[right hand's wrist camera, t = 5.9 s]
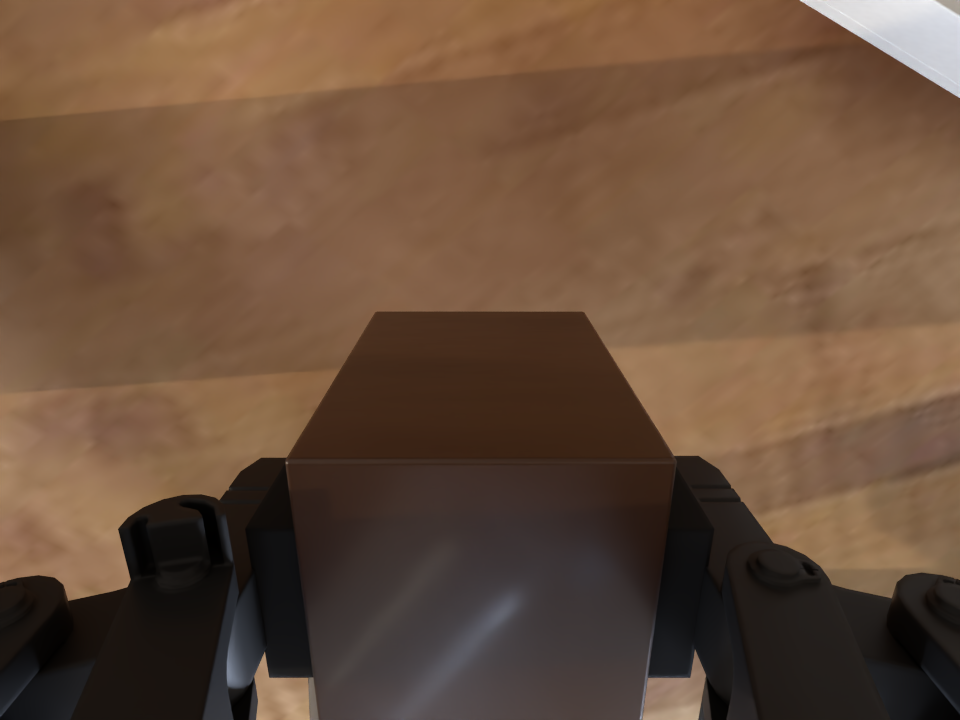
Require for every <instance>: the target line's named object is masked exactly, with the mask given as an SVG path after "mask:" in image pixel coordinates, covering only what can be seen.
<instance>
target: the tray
mask: <svg viewBox="0 0 960 720" xmlns="http://www.w3.org/2000/svg"><path fill="white" fill-rule="evenodd" d="M800 1H802V2H803V3H805V4H807V5H808V6H810V7H812V8H813V9H815V10H817V11H818V12H820V13H821V14H823V15H825V16H826V17H828V18H830V19H831V20H833V21H835V22H836V23H838V24H839V25H841V26H843V27H844V28H846V29H848V30H849V31H851V32H853V33H854V34H856V35H857V36H859V37H861V38H862V39H864V40H866V41H867V42H869V43H871V44H872V45H874V46H875V47H877V48H879V49H880V50H882V51H884V52H885V53H887V54H889V55H890V56H892V57H893V58H895V59H897V60H898V61H900V62H902V63H903V64H905V65H907V66H908V67H910V68H911V69H913V70H915V71H916V72H918V73H920V74H921V75H923V76H925V77H926V78H928V79H929V80H931V81H933V82H934V83H936V84H938V85H939V86H941V87H943V88H944V89H946V90H947V91H949V92H951V93H952V94H954V95H956V96H957V97H959V98H960V0H800Z"/></svg>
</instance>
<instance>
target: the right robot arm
mask: <svg viewBox="0 0 960 720" xmlns="http://www.w3.org/2000/svg"><path fill="white" fill-rule="evenodd" d="M674 457H675V458H676V461H677V464H676V471H675V478H674V486H673V493H672V501H671V508H670V516H669V523H668V531H667V538H666V545H665V553H664V560H663V568H662V575H661V583H660V590H659V598H658V605H657V613H656V620H655V627H654V635H653V642H652V650H651V657H650V665H649V672H648V678H690V676H691V670H692V664H693V658H694V651H695V650H696V652H697V654H698V657H699V659H700V661H701V664H702V666H703V668H704V671H705V673H706V679H705V685H704V691H703V696H702V702H701V708H700V714H699V719H698V720H960V580H958V579H954V578H951V577H947V576H943V575H936V574H928V573H917V574H910V575H905V576H904V577H903V578H902V579H900V580H899V581H898V582H897V584H896V587H895V590H894V594H893V597H892V598H887V597H882V596H878V595H873V594H868V593H863V592H859V591H854V590H849V589H845V588H842V587H838V586H834V585H832V584H831V582H830V580H829V578H828V577H827V575H826V574H825V573H824V571H823V570H822V568H821V567H820V566H819V565H817V564H816V563H815V562H813V561H812V560H811V559H809V558H808V557H807V556H805V555H804V554H801V553H799V552H797V551H795V550H793V549H791V548H788V547H786V546H782V545H778V544H774V543H773V542H772V540H771V539H770V538H769V536H768V535H767V534H766V532H765V531H764V530H763V528H762V527H761V526H760V524H759V523H758V522H757V520H756V519H755V518H754V516H753V515H752V513H751V512H750V511H749V509H748V508H747V507H746V505H745V504H744V503H743V502H741V500H740V497H739V496H738V495H737V493H736V492H735V490H734V489H731V485H730V484H729V482H728V481H727V480H726V478H725V477H724V476H723V474H722V473H721V472H720V470H719V469H717V468H716V467H714V466H713V465H711V464H710V463H708V462H707V461H705V460H704V459H702V458H701V457H699V456H674ZM286 459H287V458H260V459H259V460H257V461H256V462H254V463H253V464H251V465H250V466H248V467H247V468H245V469H244V470H242V471H241V472H240V473H239V475H238V476H237V477H236V479H235V480H234V481H233V483H232V484H231V485H230V487H229V491H226V492H225V494H224V495H223V496H222V498H221V499H220V500H218V499H216V498H214V497H210V496H205V495H181V496H177V497H172V498H167V499H163V500H161V501H158V502H156V503H153V504H151V505H148V506H146V507H143V508H142V509H140V510H139V511H137V512H136V513H134V514H133V515H131V516H130V517H128V518H127V519H126V521H125V522H124V523H123V524H122V525H121V526H120V528H119V529H118V530H119V534H120V538H121V542H122V546H123V550H124V554H125V558H126V562H127V566H128V570H129V574H130V578H131V581H130V583H129V585H128V587H127V588H124V589H120V590H117V591H113V592H108V593H104V594H99V595H94V596H90V597H85V598H80V599H76V600H71V601H68V599H67V596H66V592H65V589H64V586H63V584H62V583H60V582H59V581H58V580H57V579H55V578H53V577H46V576H39V575H38V576H30V577H22V578H16V579H12V580H8V581H7V582H2V583H0V720H256V714H257V705H258V698H257V691H256V685H255V679H254V675H255V673H256V670H257V668H258V666H259V663H260V661H261V659H262V656H263V654H264V652H265V654H266V660H267V666H268V672H269V678H309V679H308V683H309V709H310V720H319V718H318V710H317V703H316V695H315V687H314V680H313V672H312V664H311V657H310V649H309V641H308V633H307V626H306V618H305V610H304V603H303V595H302V587H301V580H300V572H299V564H298V557H297V549H296V541H295V533H294V526H293V518H292V510H291V503H290V495H289V487H288V480H287V472H286V464H285V461H286Z"/></svg>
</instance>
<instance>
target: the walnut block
mask: <svg viewBox="0 0 960 720" xmlns="http://www.w3.org/2000/svg"><path fill="white" fill-rule="evenodd" d="M285 464H286V472H287V480H288V487H289V495H290V503H291V510H292V518H293V526H294V533H295V541H296V549H297V557H298V564H299V572H300V580H301V587H302V595H303V603H304V610H305V618H306V626H307V633H308V641H309V649H310V657H311V664H312V672H313V680H314V687H315V695H316V703H317V710H318V718H319V720H642V717H643V709H644V702H645V695H646V687H647V680H648V672H649V665H650V657H651V650H652V642H653V635H654V627H655V620H656V613H657V605H658V598H659V590H660V583H661V575H662V568H663V560H664V553H665V545H666V538H667V531H668V523H669V516H670V508H671V501H672V493H673V486H674V478H675V471H676V464H677V461H676V458H675V457H674V455H673V454H672V452H671V450H670V449H669V447H668V446H667V444H666V442H665V441H664V439H663V438H662V436H661V434H660V433H659V431H658V430H657V428H656V427H655V425H654V423H653V422H652V420H651V419H650V417H649V415H648V414H647V412H646V411H645V409H644V407H643V406H642V404H641V403H640V401H639V399H638V398H637V396H636V395H635V393H634V391H633V390H632V388H631V387H630V385H629V383H628V382H627V380H626V379H625V377H624V375H623V374H622V372H621V371H620V369H619V367H618V366H617V364H616V363H615V361H614V359H613V358H612V356H611V355H610V353H609V351H608V350H607V348H606V347H605V345H604V343H603V342H602V340H601V339H600V337H599V335H598V334H597V332H596V331H595V329H594V327H593V326H592V324H591V323H590V321H589V319H588V318H587V316H586V315H585V313H584V312H375V314H374V315H373V317H372V319H371V320H370V322H369V324H368V325H367V327H366V329H365V330H364V332H363V333H362V335H361V337H360V338H359V340H358V342H357V343H356V345H355V347H354V348H353V350H352V352H351V353H350V355H349V356H348V358H347V360H346V361H345V363H344V365H343V366H342V368H341V370H340V371H339V373H338V375H337V376H336V378H335V380H334V381H333V383H332V384H331V386H330V388H329V389H328V391H327V393H326V394H325V396H324V398H323V399H322V401H321V403H320V404H319V406H318V408H317V409H316V411H315V412H314V414H313V416H312V417H311V419H310V421H309V422H308V424H307V426H306V427H305V429H304V431H303V432H302V434H301V435H300V437H299V439H298V440H297V442H296V444H295V445H294V447H293V449H292V450H291V452H290V454H289V455H288V457H287V459H286V461H285Z"/></svg>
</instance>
